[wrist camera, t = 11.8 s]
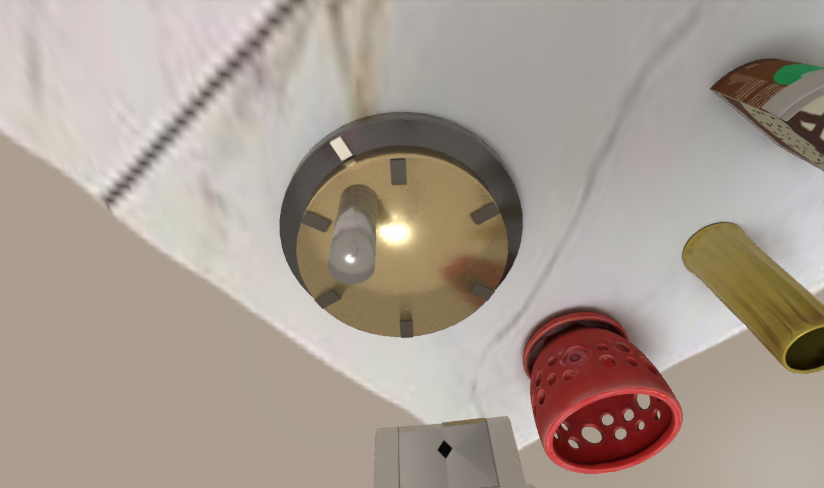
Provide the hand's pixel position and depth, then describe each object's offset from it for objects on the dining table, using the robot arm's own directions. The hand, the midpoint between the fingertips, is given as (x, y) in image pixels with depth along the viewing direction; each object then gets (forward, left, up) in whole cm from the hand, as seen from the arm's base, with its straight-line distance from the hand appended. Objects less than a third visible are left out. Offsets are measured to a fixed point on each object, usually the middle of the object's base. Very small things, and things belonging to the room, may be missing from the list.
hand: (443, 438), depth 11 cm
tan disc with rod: (+8, +11, -31) cm, 34 cm away
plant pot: (+1, +35, -33) cm, 48 cm away
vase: (-16, +31, -33) cm, 48 cm away
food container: (-25, +18, -33) cm, 45 cm away
